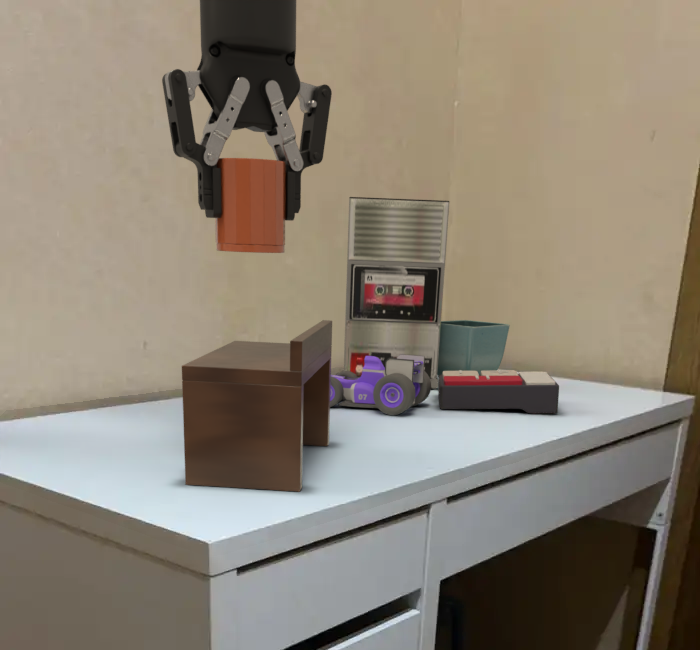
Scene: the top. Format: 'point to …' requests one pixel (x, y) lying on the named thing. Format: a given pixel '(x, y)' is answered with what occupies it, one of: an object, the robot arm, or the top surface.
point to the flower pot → (471, 345)
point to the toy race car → (383, 385)
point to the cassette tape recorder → (395, 280)
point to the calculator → (499, 391)
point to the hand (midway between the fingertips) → (250, 218)
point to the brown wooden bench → (257, 411)
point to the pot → (251, 206)
